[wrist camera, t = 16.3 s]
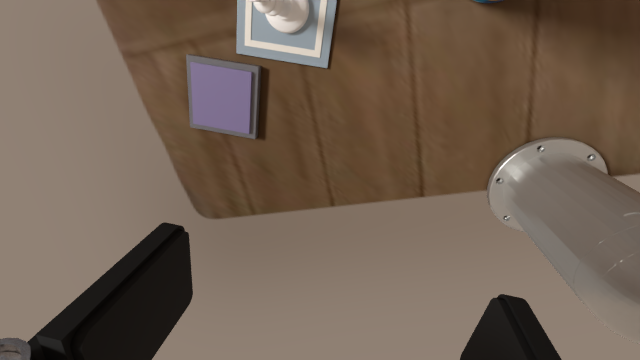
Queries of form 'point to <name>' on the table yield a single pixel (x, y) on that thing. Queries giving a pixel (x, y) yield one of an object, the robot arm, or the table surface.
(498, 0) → the beverage bottle
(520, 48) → the table surface
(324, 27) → the pale blue flat square
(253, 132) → the ink pad
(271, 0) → the chess piece
